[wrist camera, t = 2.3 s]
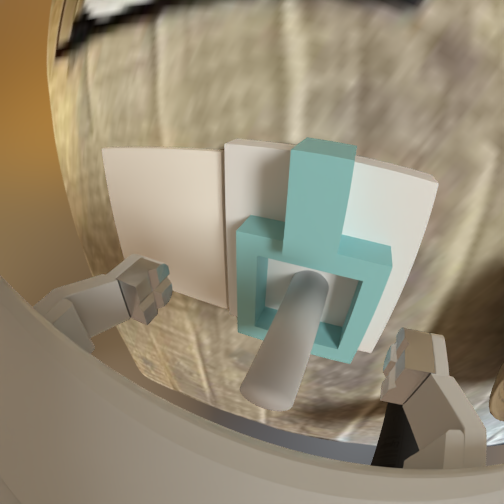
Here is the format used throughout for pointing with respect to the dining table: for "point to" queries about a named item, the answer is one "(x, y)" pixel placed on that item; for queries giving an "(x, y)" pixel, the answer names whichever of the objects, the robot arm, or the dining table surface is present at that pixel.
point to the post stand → (309, 280)
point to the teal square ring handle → (312, 248)
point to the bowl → (498, 396)
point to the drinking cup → (395, 439)
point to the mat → (173, 213)
